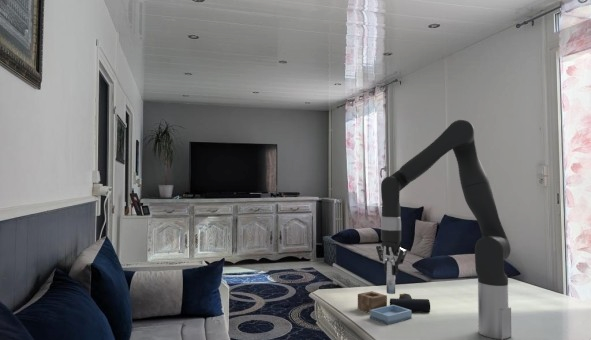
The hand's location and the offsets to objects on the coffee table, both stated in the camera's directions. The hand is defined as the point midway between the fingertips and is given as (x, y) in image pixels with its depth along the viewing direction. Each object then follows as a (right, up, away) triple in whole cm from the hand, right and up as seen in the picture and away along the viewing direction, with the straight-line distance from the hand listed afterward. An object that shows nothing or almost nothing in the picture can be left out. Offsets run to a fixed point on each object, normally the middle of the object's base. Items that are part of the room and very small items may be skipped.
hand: (390, 273), depth 153 cm
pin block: (-5, -17, +10) cm, 20 cm away
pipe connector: (+10, -18, +12) cm, 24 cm away
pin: (0, -7, 0) cm, 7 cm away
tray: (0, -17, -1) cm, 17 cm away
